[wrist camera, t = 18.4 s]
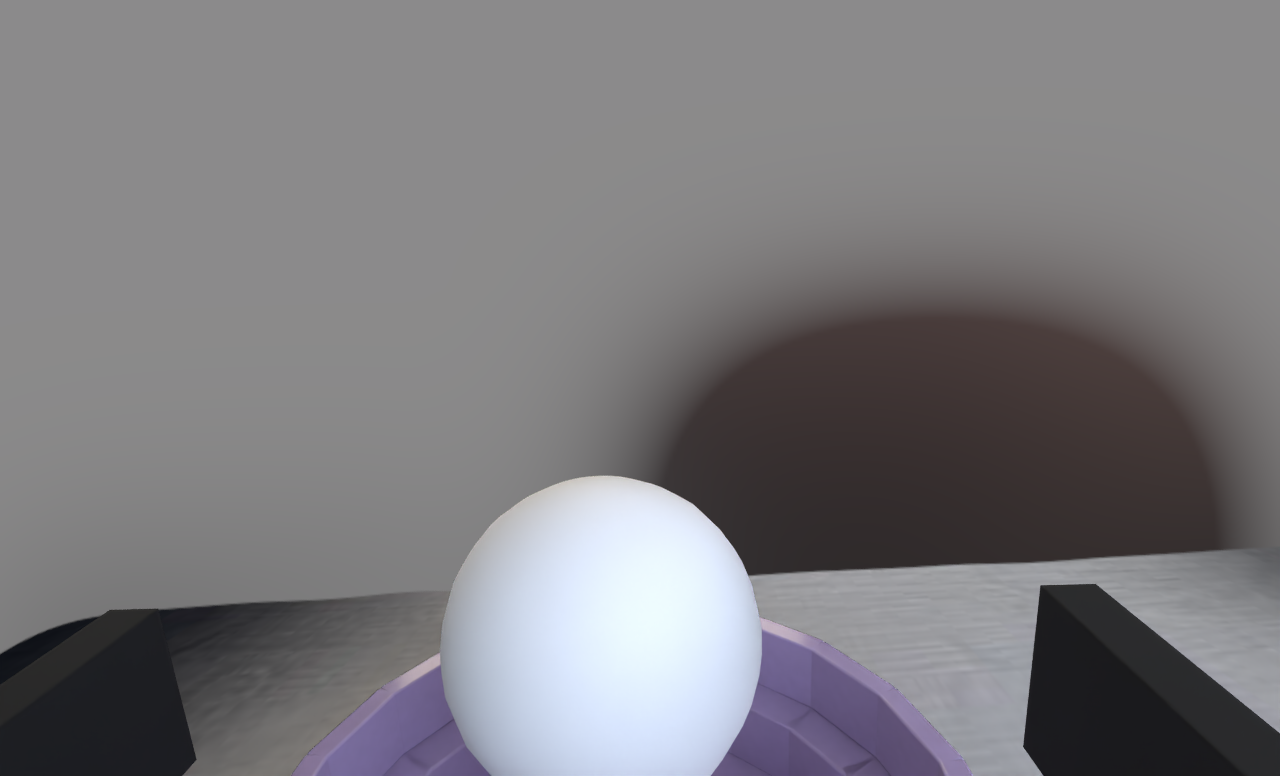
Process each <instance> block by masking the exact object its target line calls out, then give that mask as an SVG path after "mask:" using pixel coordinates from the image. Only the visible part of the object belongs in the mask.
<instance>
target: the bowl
mask: <svg viewBox="0 0 1280 776" xmlns="http://www.w3.org/2000/svg"><path fill="white" fill-rule="evenodd" d="M759 618H760V623H761V627H762V657H761V666H760V675H759V679H758V683H757V687H756V690H755V694H754V698H753V702H752V706H751V708H750V710H749V713H748V715H747V717H746V720H745V722H744V725H743V727H742V728H741V730H740V732H739V733H738V735H737V737H736V738H735V740H734V742H733V743H732V745H731V747H730V748H729V750H728V752H727V753H726V755H725V757H724V758H723V760H722V761H721V763H720V764H719V765H718V767H717V768H716V769H715V771H714V772H713V773H712V775H711V776H973V775H972V773H971V771H970V769H969V767H968V766H967V764H966V762H965V761H964V760H963V758H962V756H961V755H960V754H959V753H958V752H957V751H956V750H955V749H954V748H953V747H952V746H951V745H950V744H949V743H948V742H947V741H946V740H945V739H944V737H943V736H942V735H941V734H940V733H939V732H938V731H937V730H936V729H935V728H934V727H933V726H932V725H931V724H930V723H929V722H928V721H927V720H926V719H925V718H924V717H923V715H922V714H921V713H920V712H919V711H918V710H917V709H916V708H915V707H914V706H913V705H912V704H911V703H910V702H909V701H908V700H907V699H906V698H905V697H904V696H903V695H902V693H901V692H900V691H899V690H898V689H895V687H894V686H893V685H891V684H890V683H888V682H886V681H885V680H883V679H882V678H880V677H879V676H877V675H876V674H874V673H873V672H871V671H869V670H868V669H866V668H865V667H863V666H862V665H860V664H859V663H857V662H855V661H854V660H852V659H851V658H849V657H848V656H846V655H845V654H843V653H841V652H840V651H838V650H837V649H835V648H834V647H832V646H831V645H829V644H828V643H826V642H823V641H822V640H820V639H818V638H815V637H813V636H810V635H807V634H805V633H802V632H799V631H797V630H794V629H791V628H789V627H786V626H783V625H781V624H778V623H776V622H773V621H770V620H768V619H765V618H762V617H760V616H759ZM291 776H491V775H490V774H489V773H488V772H487V770H486V769H485V768H484V767H483V766H482V765H481V764H480V762H479V761H478V760H477V759H476V758H475V757H474V755H473V754H472V753H471V752H470V751H469V749H468V748H467V747H466V745H465V742H464V740H463V738H462V736H461V733H460V731H459V729H458V727H457V724H456V722H455V720H454V718H453V715H452V713H451V710H450V708H449V706H448V703H447V701H446V699H445V694H444V687H443V680H442V673H441V661H440V652H439V653H437V654H436V655H434V656H432V657H431V658H429V659H427V660H426V661H424V662H422V663H421V664H419V665H417V666H416V667H414V668H412V669H410V670H409V671H407V672H405V673H404V674H402V675H400V676H399V677H397V678H395V679H394V680H392V681H390V682H389V683H387V684H385V685H384V686H382V687H381V689H378V690H377V691H376V692H375V693H374V694H373V695H372V696H370V697H369V698H368V699H367V700H366V701H365V702H364V703H363V704H362V705H360V706H359V707H358V708H357V709H356V710H355V711H354V712H353V713H351V714H350V715H349V716H348V717H347V718H346V719H345V720H344V721H343V722H341V723H340V724H339V725H338V726H337V727H336V728H335V729H334V730H333V731H331V732H330V733H329V734H328V735H327V736H326V737H325V738H324V739H323V740H321V741H320V742H319V743H318V744H317V745H316V746H315V747H314V748H312V749H311V750H310V751H309V752H308V754H307V755H306V756H305V757H304V758H303V759H302V761H301V762H300V763H299V765H298V766H297V768H296V769H295V770H294V772H293V773H292V775H291Z"/></svg>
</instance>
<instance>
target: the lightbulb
mask: <svg viewBox="0 0 1280 776" xmlns="http://www.w3.org/2000/svg"><path fill="white" fill-rule="evenodd" d="M761 657H762V627H761V623H760V618H759V613H758V609H757V604H756V600H755V596H754V591H753V587H752V584H751V582H750V579H749V577H748V575H747V572H746V570H745V568H744V565H743V563H742V561H741V559H740V558H739V556H738V554H737V553H736V551H735V549H734V548H733V547H732V545H731V544H730V542H729V541H728V540H727V538H726V537H725V536H724V534H723V533H722V532H721V530H720V529H719V528H718V527H716V525H714V523H713V522H711V521H710V520H709V519H708V518H707V517H706V516H705V515H704V514H703V513H702V512H701V511H700V510H699V509H697V508H696V507H695V506H694V505H693V504H692V503H690V502H688V501H686V500H685V499H683V498H681V497H679V496H677V495H675V494H673V493H672V492H669V491H668V490H666V489H664V488H661V487H659V486H656V485H653V484H650V483H646V482H642V481H638V480H634V479H630V478H626V477H618V476H590V477H582V478H576V479H571V480H567V481H564V482H561V483H558V484H555V485H553V486H550V487H548V488H546V489H544V490H541V491H539V492H537V493H534V494H532V495H530V496H528V497H527V498H525V499H524V500H522V501H521V502H519V503H518V504H516V505H515V506H513V507H512V508H511V509H509V510H508V511H507V512H506V513H504V514H503V515H501V516H500V517H499V518H498V519H497V520H496V521H495V522H493V523H492V524H491V525H490V527H489V528H488V529H487V530H486V531H485V533H484V534H483V535H482V537H481V538H480V539H479V540H478V542H477V543H476V544H475V546H474V547H473V548H472V550H471V552H470V553H469V555H468V556H467V558H466V560H465V562H464V563H463V565H462V567H461V569H460V571H459V573H458V574H457V576H456V578H455V580H454V582H453V586H452V589H451V593H450V597H449V600H448V604H447V608H446V612H445V615H444V619H443V623H442V632H441V643H440V661H441V673H442V680H443V687H444V694H445V699H446V701H447V703H448V706H449V708H450V710H451V713H452V715H453V718H454V720H455V722H456V724H457V727H458V729H459V731H460V733H461V736H462V738H463V740H464V742H465V745H466V747H467V748H468V749H469V751H470V752H471V753H472V754H473V755H474V757H475V758H476V759H477V760H478V761H479V762H480V764H481V765H482V766H483V767H484V768H485V769H486V770H487V772H488V773H489V774H490V775H491V776H711V775H712V773H713V772H714V771H715V769H716V768H717V767H718V765H719V764H720V763H721V761H722V760H723V758H724V757H725V755H726V753H727V752H728V750H729V748H730V747H731V745H732V743H733V742H734V740H735V738H736V737H737V735H738V733H739V732H740V730H741V728H742V727H743V725H744V722H745V720H746V717H747V715H748V713H749V710H750V708H751V706H752V702H753V698H754V694H755V690H756V687H757V683H758V679H759V675H760V666H761Z"/></svg>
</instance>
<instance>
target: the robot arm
mask: <svg viewBox="0 0 1280 776" xmlns="http://www.w3.org/2000/svg"><path fill="white" fill-rule="evenodd" d="M1023 747H1024V749H1025V750H1026V751H1027V753H1028V754H1029V756H1030V757H1031V759H1032V760H1033V761H1034V763H1035V764H1036V766H1037V767H1038V769H1039V770H1040V771H1041V773H1042V774H1043V776H1280V733H1279V732H1277V731H1276V730H1275V729H1274V728H1272V727H1271V726H1270V725H1269V724H1268V723H1266V722H1265V721H1264V720H1263V719H1261V718H1260V717H1259V716H1258V715H1256V714H1255V713H1254V712H1253V711H1252V710H1250V709H1249V708H1248V707H1247V706H1245V705H1244V704H1243V703H1242V702H1240V701H1239V700H1238V699H1237V698H1235V697H1234V696H1233V695H1232V694H1231V693H1229V692H1228V691H1227V690H1226V689H1224V688H1223V687H1222V686H1221V685H1219V684H1218V683H1217V682H1216V681H1215V680H1213V679H1212V678H1211V677H1210V676H1208V675H1207V674H1206V673H1205V672H1203V671H1202V670H1201V669H1200V668H1198V667H1197V666H1196V665H1195V664H1194V663H1192V662H1191V661H1190V660H1189V659H1187V658H1186V657H1185V656H1184V655H1182V654H1181V653H1180V652H1179V651H1178V650H1176V649H1175V648H1174V647H1173V646H1171V645H1170V644H1169V643H1168V642H1166V641H1165V640H1164V639H1163V638H1161V637H1160V636H1159V635H1158V634H1157V633H1155V632H1154V631H1153V630H1152V629H1150V628H1149V627H1148V626H1147V625H1145V624H1144V623H1143V622H1142V621H1141V620H1139V619H1138V618H1137V617H1136V616H1134V615H1133V614H1132V613H1131V612H1129V611H1128V610H1127V609H1126V608H1124V607H1123V606H1122V605H1121V604H1120V603H1118V602H1117V601H1116V600H1115V599H1113V598H1112V597H1111V596H1110V595H1108V594H1107V593H1106V592H1105V591H1103V590H1102V589H1101V588H1100V587H1099V586H1097V585H1096V584H1079V585H1041V586H1040V596H1039V605H1038V614H1037V624H1036V633H1035V642H1034V651H1033V661H1032V670H1031V679H1030V689H1029V698H1028V707H1027V717H1026V726H1025V735H1024V745H1023ZM195 761H196V756H195V752H194V748H193V744H192V740H191V736H190V732H189V728H188V724H187V720H186V716H185V712H184V709H183V705H182V701H181V697H180V693H179V689H178V685H177V681H176V677H175V673H174V669H173V665H172V661H171V657H170V653H169V649H168V646H167V642H166V638H165V634H164V630H163V626H162V622H161V618H160V614H159V610H158V609H131V610H109V611H108V612H106V613H105V614H103V615H102V616H100V617H99V618H97V619H96V620H95V621H93V622H92V623H90V624H89V625H87V626H86V627H84V628H83V629H81V630H80V631H78V632H77V633H76V634H74V635H73V636H71V637H70V638H68V639H67V640H65V641H64V642H62V643H61V644H59V645H58V646H57V647H55V648H54V649H52V650H51V651H49V652H48V653H46V654H45V655H43V656H42V657H40V658H39V659H37V660H36V661H35V662H33V663H32V664H30V665H29V666H27V667H26V668H24V669H23V670H21V671H20V672H18V673H17V674H16V675H14V676H13V677H11V678H10V679H8V680H7V681H5V682H4V683H2V684H1V685H0V776H182V775H183V774H184V773H185V772H186V771H187V770H188V769H189V768H190V766H191V765H192V764H193V763H194V762H195Z"/></svg>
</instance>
